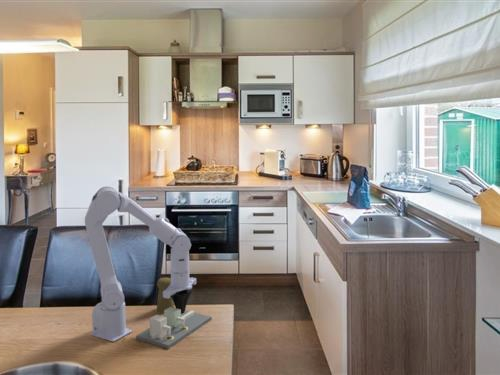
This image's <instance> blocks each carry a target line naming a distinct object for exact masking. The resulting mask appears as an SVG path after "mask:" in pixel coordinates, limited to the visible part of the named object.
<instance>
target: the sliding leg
mask: <svg viewBox="0 0 500 375" xmlns="http://www.w3.org/2000/svg"><path fill="white" fill-rule="evenodd" d="M163 314H164V315H163V317H167V324H170V325H174V326H175V325H177V324H178V323H180V322H181V321H182V328H184V321H185V318H181V310H180V309H176V307H174V308H172V307H169V308H168V309H166V310H164V313H163Z"/></svg>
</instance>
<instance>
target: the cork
mask: <svg viewBox="0 0 500 375" xmlns="http://www.w3.org/2000/svg"><path fill="white" fill-rule="evenodd" d="M156 282H157V283H156V286H157V288H158V294H157V304H156V312H157V313H159V314H164V310H166V309H168V308H169V307H172V308H175V304H174V302H173V300H172V298H171V296H170V298H163V291H164V290H166V289H167V288H168V287H169V286H170V284H171V277H160V278H159V279H158V280H157V281H156Z"/></svg>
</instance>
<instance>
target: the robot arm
mask: <svg viewBox="0 0 500 375" xmlns="http://www.w3.org/2000/svg"><path fill="white" fill-rule="evenodd" d="M116 211H117V212H118V213H128V214H130V215H131V216H133V217H134V218H135V219H137V220H139V221H141V222H142V223H143V224H145V225H146V226H148V229H149V231H148V232H149V233H150V234H151V235H153V236H154V237H155V238H157V239H158V240H160V241H161V242H162V243H164V244H165V245H168V246H169V247H170V279H171V284H170V286H169V287H168V288H167V289H166V290H164V291H163V298H170V296H171V298H172V300H173V303H174V308H176V309H180V310H181V314H183V313H184V312H185V310H186V308H187V304H188V302H189V298H190V296H191V294H192V289H193V286H195V285H196V284H197V277H190V250H191V247H192V243H191V239H190V237H188V236H187V234H186V233H184V231H182V229H181V228H179V227H176V226H174V225H173V224H172V223H171V222H170V220H169V219H168V218H167V217H165V218H164V217H162V216H159V217H155V216H154V215H152V214H151V213H149V212H148V211H147V210H146V209H144V208H143V207H142V206H141V205H139V203H137V202H135V201H134V200H133V199H132V198H131V197H129V196H127V195H125V194H124V193H123V192H120V191H117V190H116V189H115V188H114V187H112V186H106V185H105V186H103V187H100V188H99V189H98V190H97V191H96V192H95V194H93V196H92V198H91V201H90V204H89V206H88V209H87V212H86V213H85V216H84V226H85V228H86V231H87V236H88V239H89V240H88V241H89V243H90V247H91V251H92V255H93V259H94V262H95V266H96V270H97V274H98V277H99V282H100V294H101V302H98V303H97V304H96V305H95V306H94V307H93V309H92V313H91V314H92V315H91V320H92V321H91V322H92V332H90V336H93V337H96V338H100V339H103V340H106V341H109V342H112V343H113V342H116V341H118V340H120V339H121V338H123V337H125V336H127V335H128V334H130V333H132V332H133V329H131V328H128V327H127V326H126V323H127V322H126V301H125V295H124V293H123V286H122V283H121V282H120V281H119V280H118V279H117V276H116V272H115V268H114V264H113V261H112V257H111V253H110V252H111V251H110V249H109V246H108V241H107V238H106V234H105V229H104V225H103V223H104V222H105V221H106V220H107V218H108V217H109V215H111V214H113V213H114V212H116Z"/></svg>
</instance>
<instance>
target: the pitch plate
mask: <svg viewBox="0 0 500 375" xmlns="http://www.w3.org/2000/svg"><path fill="white" fill-rule="evenodd" d="M181 318H185V321H184V328H182V321H181V322H180V323H178V324H177V325H175V326H174V325H170V324H167V317H164V315H163V316H162V315H160V314H159V315H158V314H155V315H154V316H151V317H150V318H149V328H147V329H145V330H144V331H142V332H140V333H138V334H136V335H135V339H136V340H139V341H140V342H141V341H142V342H145V343H148V344H152V345H155V346H159V347H161V348H165V349H168V350H169V349H171V348H173V347H174V346H175V345H176V344H178V343H180V342H181V341H182V340H184V339H185V338H187V337H188V336H190V335H191V334H193V333H194V332H196V331H197V330H199V329H200V328H202V327H203V326H204V325H206V324H208V323H209V322H211V321H212V316H210V315H206V314H201V313H198V312H195V310H190V311H189V310H186V309H185V312H184V313H183V314H181Z"/></svg>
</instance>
